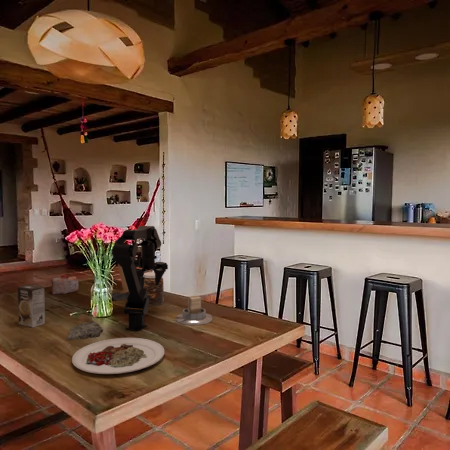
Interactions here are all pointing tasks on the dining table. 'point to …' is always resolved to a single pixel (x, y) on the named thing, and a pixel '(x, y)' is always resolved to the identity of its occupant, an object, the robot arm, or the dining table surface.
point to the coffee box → (31, 305)
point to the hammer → (124, 292)
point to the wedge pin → (194, 304)
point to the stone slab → (85, 331)
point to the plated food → (118, 355)
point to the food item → (64, 284)
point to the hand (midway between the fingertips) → (149, 288)
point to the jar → (153, 289)
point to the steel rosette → (194, 318)
